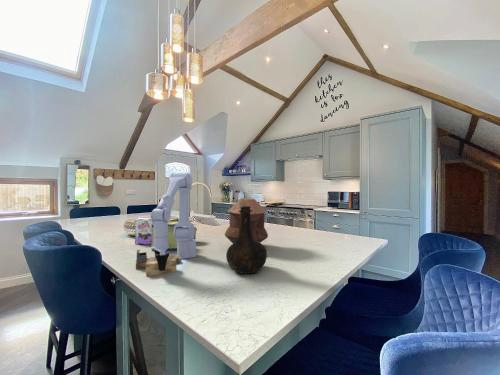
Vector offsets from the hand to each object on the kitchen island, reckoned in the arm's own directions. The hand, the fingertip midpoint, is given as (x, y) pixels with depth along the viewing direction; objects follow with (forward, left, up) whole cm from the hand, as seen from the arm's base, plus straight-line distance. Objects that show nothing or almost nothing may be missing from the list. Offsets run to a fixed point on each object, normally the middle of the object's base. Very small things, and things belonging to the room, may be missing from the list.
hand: (161, 267), depth 101 cm
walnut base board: (0, -13, -2) cm, 13 cm away
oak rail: (0, 0, -2) cm, 2 cm away
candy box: (+4, -61, -2) cm, 61 cm away
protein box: (-7, -41, -2) cm, 42 cm away
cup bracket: (+7, -13, +1) cm, 15 cm away
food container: (-23, -49, -2) cm, 54 cm away
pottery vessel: (-49, -19, -2) cm, 53 cm away
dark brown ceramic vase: (-34, +14, -2) cm, 37 cm away
